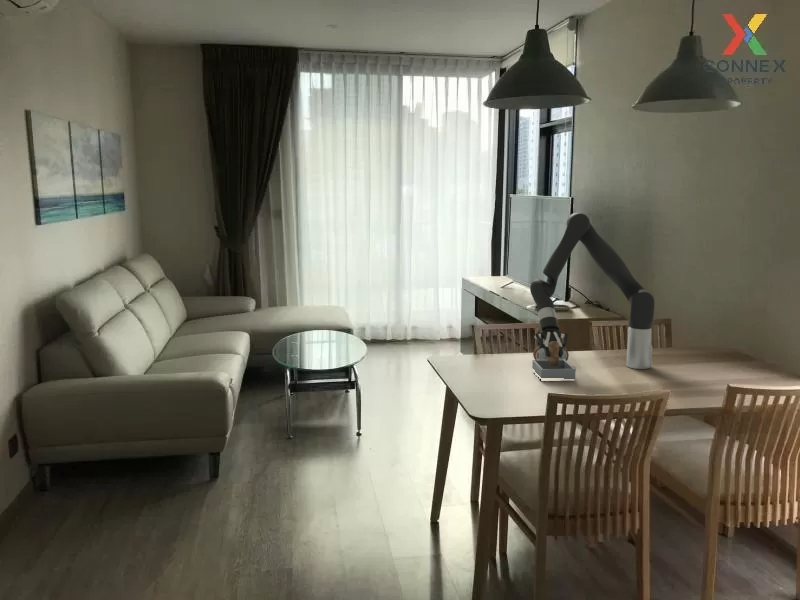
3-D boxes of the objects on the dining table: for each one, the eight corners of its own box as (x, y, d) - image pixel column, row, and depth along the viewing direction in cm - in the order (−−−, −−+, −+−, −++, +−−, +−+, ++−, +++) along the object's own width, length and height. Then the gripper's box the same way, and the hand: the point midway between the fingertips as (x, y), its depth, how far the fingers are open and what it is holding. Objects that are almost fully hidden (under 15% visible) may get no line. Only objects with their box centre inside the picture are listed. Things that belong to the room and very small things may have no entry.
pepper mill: (556, 363, 260) (557, 339, 258) (559, 366, 256) (560, 342, 254) (546, 363, 260) (547, 339, 258) (548, 366, 256) (550, 342, 254)
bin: (564, 371, 266) (564, 359, 265) (574, 381, 252) (575, 369, 251) (532, 371, 265) (532, 359, 265) (540, 381, 251) (541, 369, 250)
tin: (567, 363, 278) (568, 344, 276) (568, 365, 275) (569, 346, 273) (532, 362, 279) (533, 344, 278) (533, 364, 276) (534, 345, 275)
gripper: (532, 315, 262) (539, 351, 252) (567, 315, 262) (574, 351, 252) (529, 325, 268) (535, 361, 258) (562, 325, 268) (570, 360, 258)
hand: (554, 356), depth 255 cm, fingers closed on pepper mill, 4 cm apart
